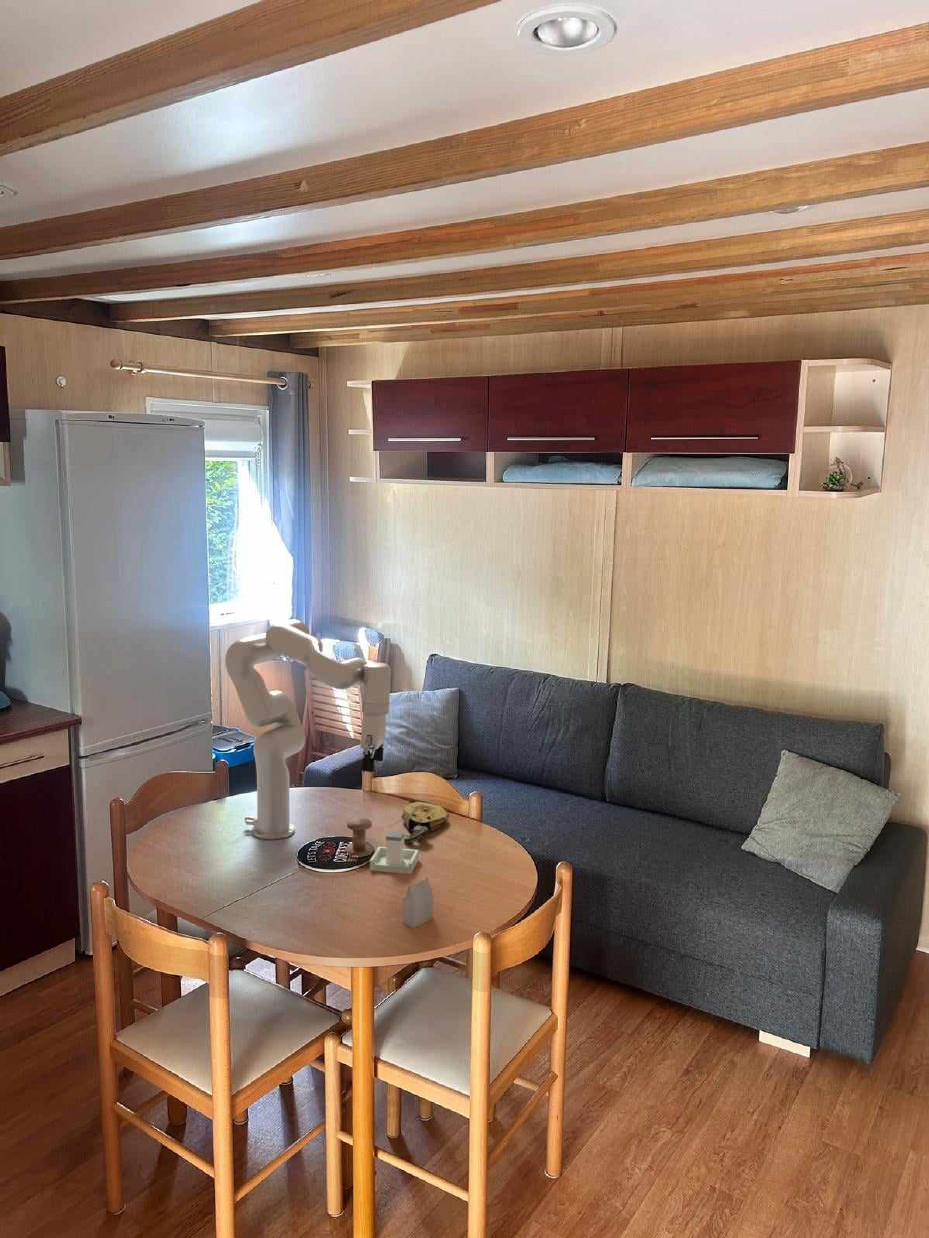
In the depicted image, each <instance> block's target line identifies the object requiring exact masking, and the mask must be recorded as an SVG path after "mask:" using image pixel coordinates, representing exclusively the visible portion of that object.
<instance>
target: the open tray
mask: <svg viewBox="0 0 929 1238" xmlns="http://www.w3.org/2000/svg"><path fill="white" fill-rule="evenodd" d="M419 852H420V851H419V850H418V849H410V848H403V861H402V863H401V865H389V864H386V846H378V847H377V848H376V850H375V852H373V854H372V855H371V857H370V859H369V871H374V872H383V873H384V872H385V873H394V874H406V875H412V874H413V872H414V869H415V868H416V866H417V864H418V862H419Z"/></svg>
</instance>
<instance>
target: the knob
mask: <svg viewBox="0 0 929 1238" xmlns="http://www.w3.org/2000/svg"><path fill="white" fill-rule="evenodd" d="M372 825H373V823H372V820H371V819H368V818H364V817H354V818H351V819H349V820H347V822H346V827H347V828H348V829H349V830H352V844H349V845H347V846H346V847H345V848H344V853H345V852H347V853H348V854H349V855H357V856H363V855H369V854H371V853H372V852H373V853H374V848H373V846H371V845H369V844H366V832H367V831H366V830H369V829H370V828H371V827H372Z"/></svg>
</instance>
